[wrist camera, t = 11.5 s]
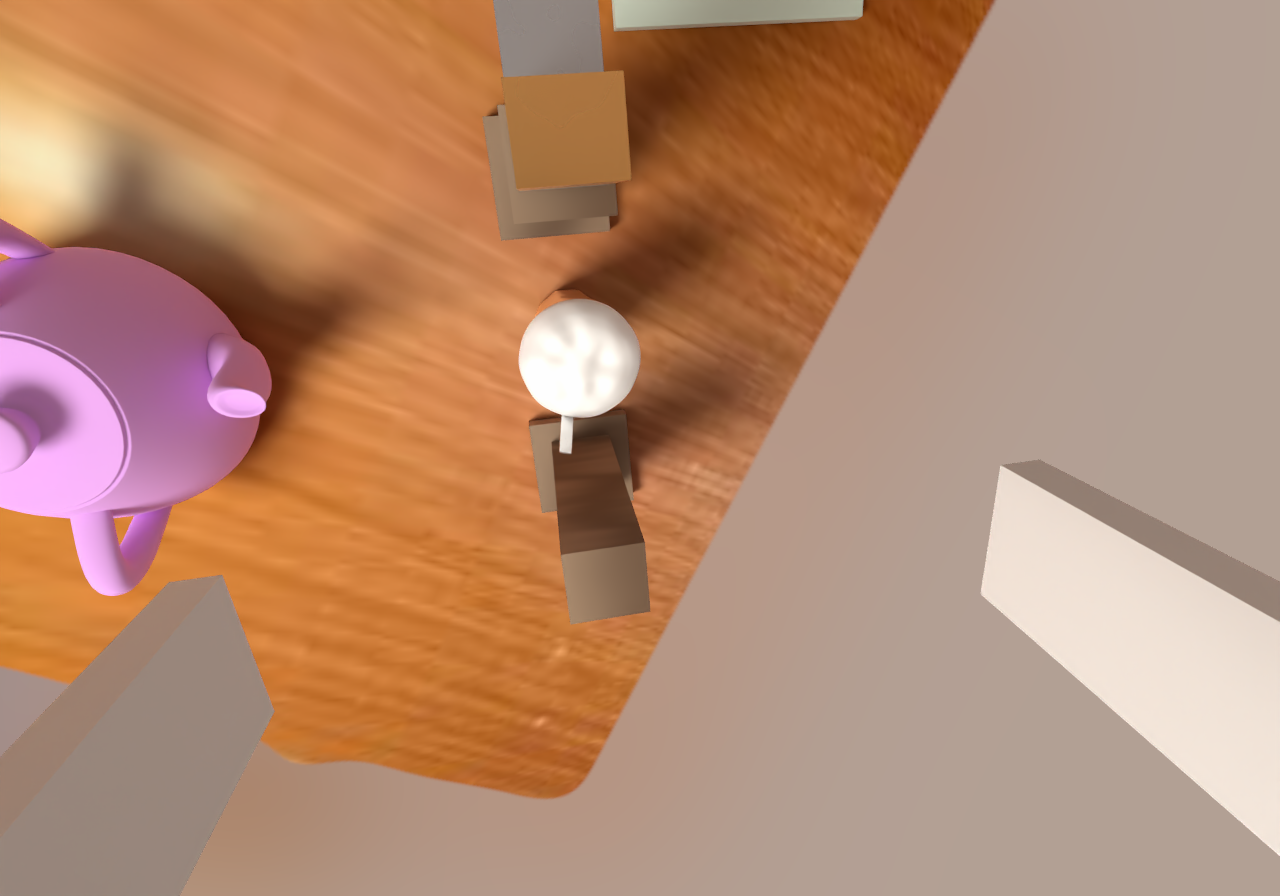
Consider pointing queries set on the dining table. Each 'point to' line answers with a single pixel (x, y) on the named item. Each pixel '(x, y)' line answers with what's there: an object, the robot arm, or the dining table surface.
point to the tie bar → (561, 96)
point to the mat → (727, 12)
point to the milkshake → (578, 358)
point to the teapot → (116, 397)
